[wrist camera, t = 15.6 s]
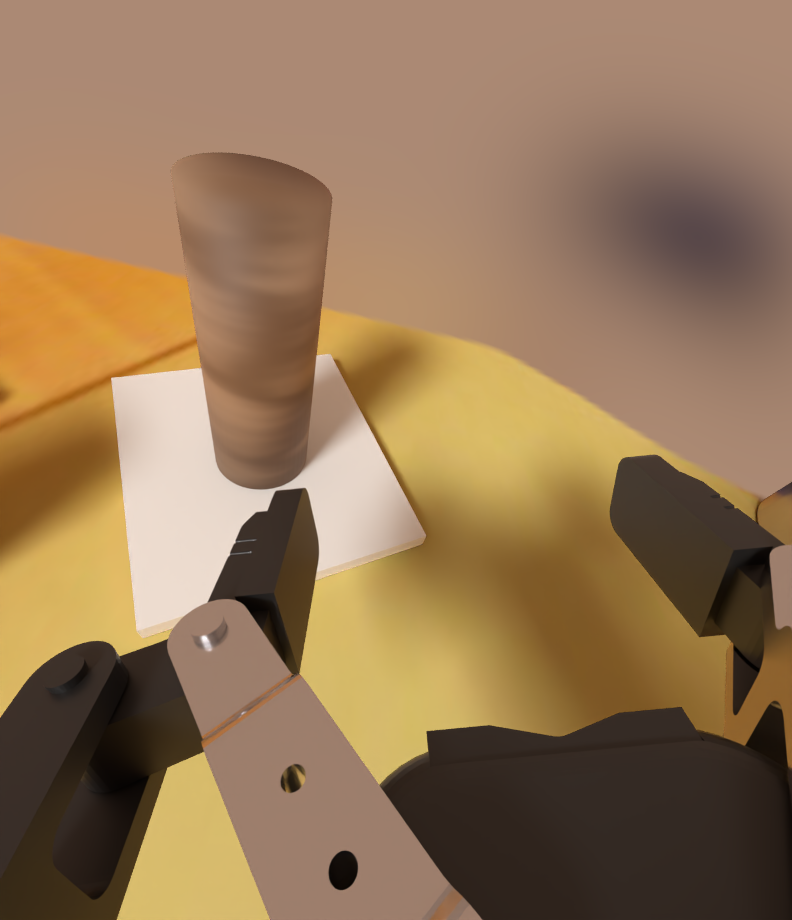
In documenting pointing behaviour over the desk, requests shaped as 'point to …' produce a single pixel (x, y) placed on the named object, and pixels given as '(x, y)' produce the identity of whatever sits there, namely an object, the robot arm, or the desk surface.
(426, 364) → the desk surface
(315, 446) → the white mat
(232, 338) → the slanted wooden cylinder
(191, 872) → the desk surface
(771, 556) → the robot arm
